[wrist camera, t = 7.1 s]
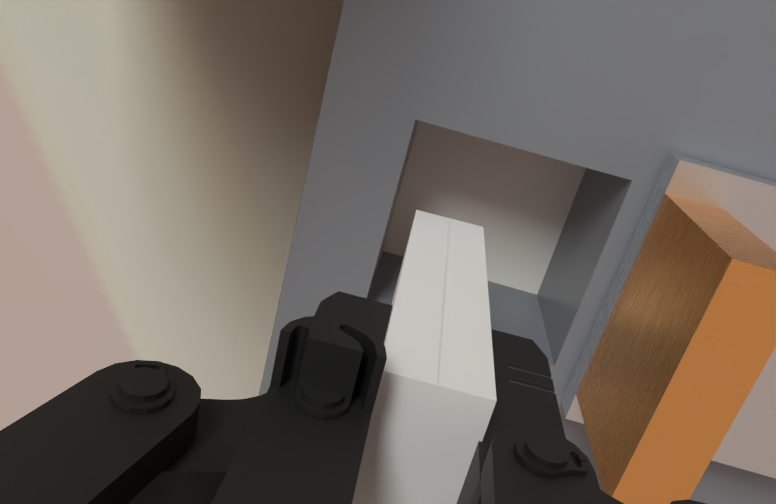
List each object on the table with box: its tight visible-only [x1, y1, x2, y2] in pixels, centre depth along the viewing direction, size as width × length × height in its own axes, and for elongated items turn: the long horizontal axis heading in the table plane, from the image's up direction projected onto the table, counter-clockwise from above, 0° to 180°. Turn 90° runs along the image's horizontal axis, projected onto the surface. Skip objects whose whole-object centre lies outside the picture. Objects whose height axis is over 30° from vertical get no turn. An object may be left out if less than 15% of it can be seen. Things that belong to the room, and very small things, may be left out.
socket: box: [259, 0, 776, 504], centre depth 19 cm, size 16×16×5 cm
